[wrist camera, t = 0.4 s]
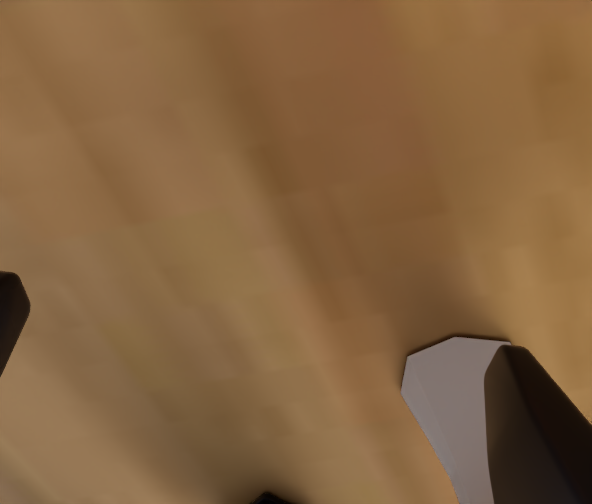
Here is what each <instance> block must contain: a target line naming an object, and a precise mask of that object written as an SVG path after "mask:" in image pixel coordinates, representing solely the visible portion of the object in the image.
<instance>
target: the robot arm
mask: <svg viewBox="0 0 592 504" xmlns="http://www.w3.org/2000/svg"><path fill="white" fill-rule="evenodd" d="M29 313H30V301H29V298H28V296H27V294H26V291H25V289H24V287H23V284H22V282H21V280H20V278H19V276H18V275H17V274H15V273H12V272H5V271H0V377H1V375H2V373H3V370H4V368H5V366H6V364H7V362H8V360H9V357H10V355H11V353H12V351H13V349H14V346H15V344H16V342H17V340H18V338H19V336H20V333H21V331H22V329H23V327H24V325H25V322H26V320H27V318H28V316H29ZM484 399H485V421H486V442H487V459H488V468H489V476H490V482H491V488H492V494H493V501H494V504H592V425H591V424H590V423H589V422H588V420H587V419H586V418H585V417H584V416H583V414H582V413H581V412H580V411H579V410H578V408H577V407H576V406H575V405H574V404H573V403H572V401H571V400H570V399H569V398H568V397H567V395H566V394H565V393H564V392H563V391H562V389H561V388H560V387H559V386H558V385H557V384H556V382H555V381H554V380H553V379H552V378H551V376H550V375H549V374H548V373H547V372H546V370H545V369H544V368H543V367H542V366H541V365H540V363H539V362H538V361H537V360H536V359H535V357H534V356H533V355H532V354H531V353H530V351H529V350H527V349H526V348H524V347H521V346H515V345H508V344H502V345H501V346H499V348H498V349H497V351H496V353H495V355H494V356H493V358H492V360H491V362H490V364H489V366H488V367H487V369H486V372H485V376H484ZM251 504H287V503H285V502H283V501H282V500H280V499H278V498H276V497H275V496H273V495H271V494H267V493H266V494H263V495H261V496H260V497H259V498H257V499H256V500H255V501H253V502H252V503H251Z"/></svg>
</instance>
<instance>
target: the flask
mask: <svg viewBox="0 0 592 504" xmlns="http://www.w3.org/2000/svg"><path fill="white" fill-rule="evenodd" d="M502 344H508V345H511V343H510V342H502V341H492V340H482V339H472V338H462V337H453V338H451V339H449V340H446V341H444V342H441V343H439V344H436V345H434V346H432V347H429V348H427V349H424V350H422V351H420V352H417V353H415V354H412V355H410V356H408V357H407V362H406V367H405V372H404V378H403V383H402V388H401V395H402V397H403V398H404V400H405V402H406V404H407V405H408V407H409V409H410V410H411V412H412V414H413V415H414V417H415V418H416V420H417V422H418V423H419V425H420V427H421V428H422V430H423V432H424V433H425V435H426V436H427V438H428V440H429V442H430V444H431V445H432V447H433V449H434V451H435V453H436V454H437V456H438V458H439V460H440V461H441V463H442V465H443V467H444V469H445V470H446V472H447V474H448V476H449V478H450V479H451V482H452V485H453V487H454V490H455V493H456V495H457V498H458V500H459V503H460V504H494V501H493V494H492V488H491V482H490V476H489V468H488V459H487V442H486V421H485V399H484V376H485V372H486V369H487V367H488V366H489V364H490V362H491V360H492V358H493V356H494V355H495V353H496V351H497V349H498V348H499V346H501V345H502Z"/></svg>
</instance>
